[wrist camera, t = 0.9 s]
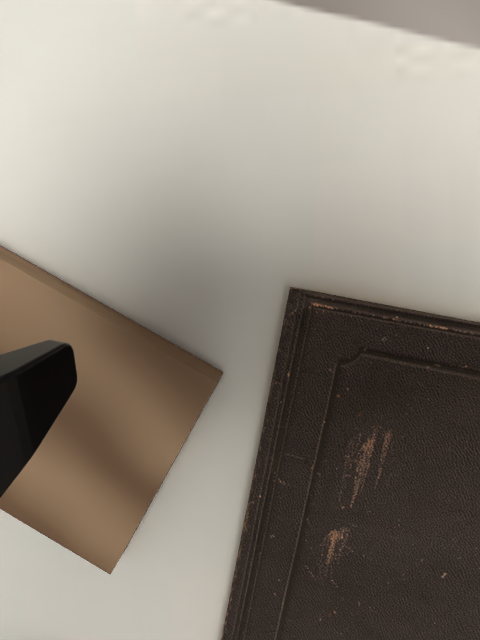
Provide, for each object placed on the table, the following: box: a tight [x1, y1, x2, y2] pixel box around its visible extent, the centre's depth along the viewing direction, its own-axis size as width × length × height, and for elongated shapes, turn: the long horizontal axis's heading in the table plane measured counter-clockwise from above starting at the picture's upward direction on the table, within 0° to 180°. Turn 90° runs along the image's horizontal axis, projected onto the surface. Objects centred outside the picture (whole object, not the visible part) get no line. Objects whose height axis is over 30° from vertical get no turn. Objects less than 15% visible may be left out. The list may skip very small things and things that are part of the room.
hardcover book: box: [221, 287, 480, 640], centre depth 22 cm, size 16×23×2 cm
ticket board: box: [0, 246, 223, 574], centre depth 23 cm, size 12×14×2 cm
